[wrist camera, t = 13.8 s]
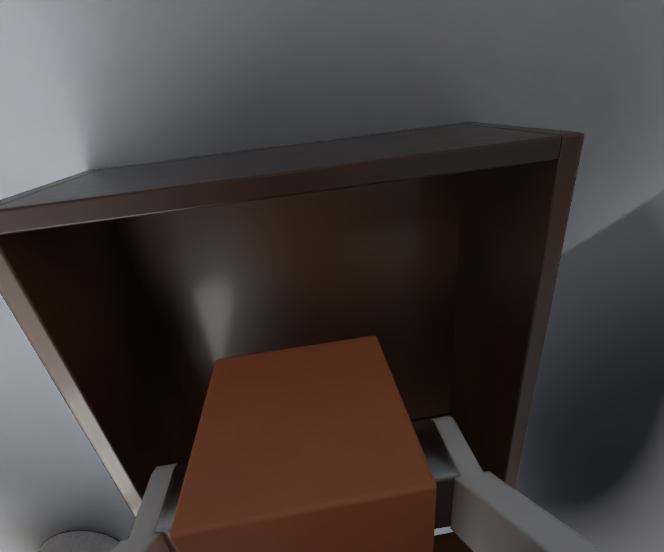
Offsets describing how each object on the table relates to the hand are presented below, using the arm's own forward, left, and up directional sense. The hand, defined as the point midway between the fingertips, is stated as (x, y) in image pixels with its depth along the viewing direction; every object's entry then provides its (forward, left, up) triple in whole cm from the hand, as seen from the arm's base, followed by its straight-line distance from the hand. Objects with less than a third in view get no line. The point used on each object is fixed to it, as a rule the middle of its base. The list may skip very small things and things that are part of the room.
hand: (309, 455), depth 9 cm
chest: (0, +1, -9) cm, 9 cm away
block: (0, 0, -2) cm, 2 cm away
